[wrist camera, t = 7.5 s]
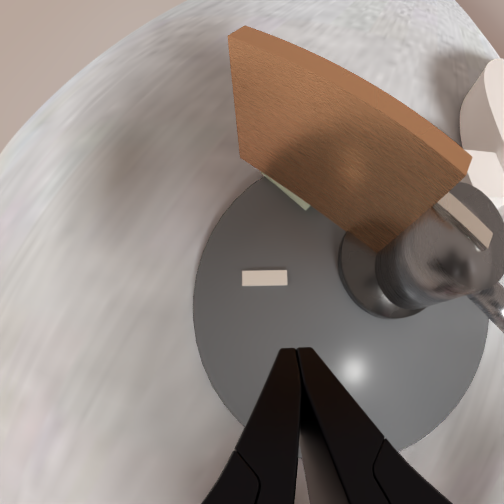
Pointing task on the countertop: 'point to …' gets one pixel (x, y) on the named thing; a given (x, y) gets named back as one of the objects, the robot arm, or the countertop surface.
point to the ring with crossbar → (485, 133)
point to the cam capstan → (369, 179)
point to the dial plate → (322, 320)
